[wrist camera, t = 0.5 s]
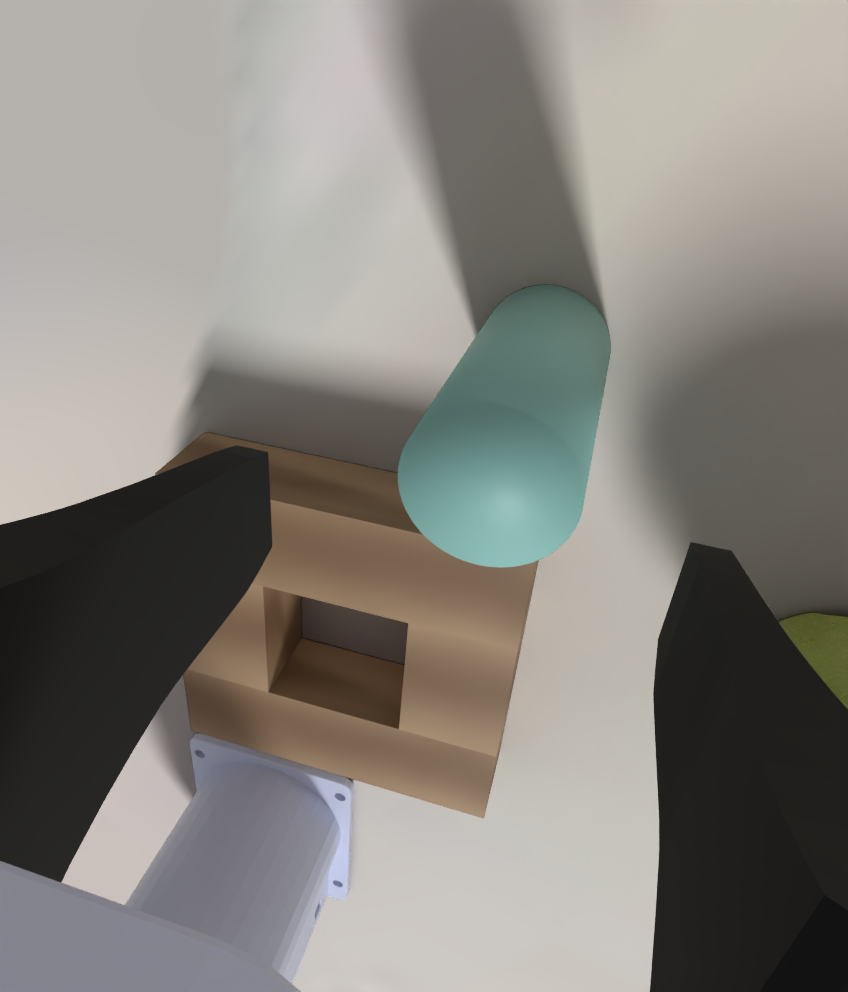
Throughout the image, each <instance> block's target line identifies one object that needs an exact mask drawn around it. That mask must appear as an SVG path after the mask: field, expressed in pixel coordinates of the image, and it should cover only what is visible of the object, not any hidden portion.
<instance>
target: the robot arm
mask: <svg viewBox="0 0 848 992" xmlns="http://www.w3.org/2000/svg"><path fill="white" fill-rule="evenodd" d="M271 548H272V524H271V501H270V479H269V456H268V452H266V451H261V450H257V449H252V448H247V447H243V446H238V445H236V446H233V447H229V448H226V449H223V450H220V451H217V452H214V453H211V454H208V455H206V456H203V457H201V458H198V459H195V460H193V461H190V462H188V463H185V464H183V465H180V466H178V467H175V468H173V469H170V470H168V471H165V472H162V473H160V474H157V475H155V476H152V477H150V478H147V479H145V480H142V481H140V482H137V483H134V484H132V485H129V486H126V487H123V488H121V489H118V490H115V491H112V492H109V493H106V494H103V495H101V496H98V497H95V498H92V499H89V500H86V501H84V502H81V503H78V504H75V505H72V506H68V507H65V508H62V509H58V510H55V511H52V512H48V513H45V514H41V515H37V516H33V517H29V518H26V519H22V520H18V521H14V522H10V523H6V524H2V525H0V992H300V991H299V990H298V989H297V988H296V987H295V986H294V985H292V982H293V980H294V977H295V975H296V972H297V970H298V967H299V965H300V962H301V960H302V957H303V955H304V952H305V950H306V947H307V945H308V942H309V940H310V937H311V935H312V932H313V930H314V927H315V925H316V922H317V920H318V917H319V915H320V912H321V910H322V907H323V905H324V902H325V900H326V897H327V896H328V897H331V898H334V899H337V900H345V899H346V898H347V896H348V893H349V886H350V862H351V838H352V814H353V789H354V787H353V783H352V782H351V781H350V780H349V779H348V778H346V777H344V776H340V775H337V774H334V773H330V772H327V771H324V770H320V769H317V768H314V767H310V766H307V765H304V764H300V763H297V762H294V761H291V760H287V759H284V758H281V757H277V756H274V755H271V754H267V753H264V752H261V751H257V750H254V749H251V748H247V747H244V746H241V745H237V744H234V743H231V742H227V741H224V740H221V739H217V738H214V737H211V736H207V735H204V734H195V735H194V736H193V737H192V739H191V740H190V749H191V756H192V763H193V770H194V777H195V784H196V791H197V792H196V794H195V795H194V797H193V798H192V800H191V801H190V803H189V805H188V806H187V808H186V809H185V811H184V812H183V814H182V816H181V817H180V819H179V820H178V822H177V824H176V825H175V827H174V828H173V830H172V831H171V833H170V835H169V836H168V838H167V839H166V841H165V842H164V844H163V846H162V847H161V849H160V850H159V852H158V854H157V855H156V857H155V858H154V860H153V861H152V863H151V865H150V866H149V868H148V869H147V871H146V872H145V874H144V876H143V877H142V879H141V880H140V882H139V884H138V885H137V887H136V888H135V890H134V891H133V893H132V895H131V896H130V898H129V899H128V901H127V902H126V904H125V905H122V904H119V903H117V902H114V901H111V900H108V899H105V898H103V897H100V896H97V895H94V894H91V893H89V892H86V891H83V890H80V889H77V888H75V887H72V886H69V885H66V884H63V883H61V882H62V880H63V878H64V876H65V873H66V871H67V869H68V867H69V865H70V863H71V861H72V859H73V858H74V856H75V854H76V852H77V850H78V848H79V846H80V845H81V843H82V841H83V839H84V837H85V835H86V833H87V831H88V830H89V828H90V826H91V824H92V822H93V820H94V818H95V817H96V815H97V813H98V811H99V809H100V807H101V805H102V804H103V802H104V800H105V798H106V796H107V795H108V793H109V791H110V789H111V788H112V786H113V784H114V783H115V781H116V779H117V777H118V776H119V774H120V772H121V770H122V769H123V767H124V765H125V763H126V762H127V760H128V758H129V757H130V755H131V753H132V751H133V750H134V748H135V746H136V745H137V743H138V741H139V740H140V738H141V737H142V735H143V733H144V732H145V730H146V729H147V727H148V725H149V724H150V722H151V720H152V719H153V717H154V716H155V714H156V712H157V711H158V709H159V707H160V706H161V704H162V703H163V701H164V700H165V698H166V697H167V696H168V694H169V693H170V691H171V690H172V689H173V687H174V686H175V684H176V683H177V682H178V680H179V679H180V678H181V676H182V675H183V674H184V673H185V671H186V670H187V669H188V668H189V666H190V665H191V664H192V662H193V661H194V660H195V659H196V657H197V656H198V655H199V653H200V652H201V651H202V650H203V648H204V647H205V646H206V644H207V643H208V642H209V641H210V639H211V638H212V637H213V635H214V634H215V633H216V632H217V630H218V629H219V628H220V627H221V625H222V624H223V623H224V621H225V620H226V619H227V617H228V616H229V615H230V613H231V612H232V611H233V610H234V608H235V607H236V606H237V604H238V603H239V602H240V600H241V599H242V598H243V596H244V595H245V594H246V592H247V591H248V589H249V588H250V586H251V584H252V582H253V581H254V579H255V577H256V576H257V574H258V572H259V571H260V569H261V567H262V565H263V563H264V561H265V559H266V557H267V556H268V554H269V552H270V550H271ZM654 719H655V742H656V762H657V782H658V802H659V867H658V884H657V901H656V917H655V931H654V945H653V959H652V973H651V986H650V992H848V709H847V708H846V707H845V706H844V704H843V703H842V702H841V701H840V700H839V699H838V698H837V697H836V695H835V694H834V693H833V692H832V691H831V690H830V688H829V687H828V686H827V685H826V683H825V682H824V681H823V680H822V679H821V677H820V676H819V675H818V674H817V672H816V671H815V670H814V669H813V668H812V666H811V665H810V664H809V663H808V661H807V660H806V659H805V658H804V656H803V655H802V654H801V652H800V651H799V650H798V648H797V647H796V646H795V644H794V643H793V642H792V640H791V639H790V638H789V636H788V635H787V634H786V632H785V631H784V629H783V628H782V627H781V625H780V624H779V622H778V621H777V619H776V618H775V617H774V615H773V614H772V612H771V611H770V609H769V608H768V606H767V605H766V603H765V602H764V600H763V599H762V597H761V596H760V594H759V593H758V591H757V590H756V588H755V586H754V585H753V583H752V582H751V580H750V579H749V577H748V576H747V574H746V573H745V571H744V569H743V568H742V566H741V565H740V563H739V562H738V560H737V559H736V557H735V556H734V554H733V553H732V551H729V550H725V549H720V548H715V547H711V546H706V545H701V544H697V543H692V542H691V543H690V546H689V549H688V552H687V555H686V558H685V561H684V564H683V567H682V570H681V573H680V576H679V579H678V582H677V585H676V588H675V591H674V594H673V597H672V600H671V603H670V606H669V609H668V612H667V615H666V617H665V620H664V623H663V626H662V629H661V632H660V635H659V638H658V647H657V658H656V668H655V681H654Z"/></svg>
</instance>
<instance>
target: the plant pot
mask: <svg viewBox="0 0 848 992" xmlns="http://www.w3.org/2000/svg"><path fill="white" fill-rule="evenodd" d="M778 622H779V624H780V625H781V627H782V628H783V629H784V631H785V632H786V634H787V635H788V636H789V638H790V639H791V640H792V642H793V643H794V644H795V646H796V647H797V648H798V650H799V651H800V652H801V654H802V655H803V656H804V658H805V659H806V660H807V661H808V663H809V664H810V665H811V666H812V668H813V669H814V670H815V671H816V672H817V674H818V675H819V676H820V677H821V679H822V680H823V681H824V682H825V683H826V685H827V686H828V687H829V688H830V690H831V691H832V692H833V693H834V694H835V695H836V697H837V698H838V699H839V700H840V701H841V702H842V703H843V704H844V706H845V707H846V708H847V709H848V617H844V616H833V615H825V614H819V613H806V614H802V615H797V616H793V617H790V618H787V619H784V620H781V621H778Z"/></svg>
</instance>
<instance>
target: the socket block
mask: <svg viewBox="0 0 848 992" xmlns="http://www.w3.org/2000/svg"><path fill="white" fill-rule="evenodd" d="M236 445H238V446H243V447H247V448H252V449H257V450H261V451H266V452H268V456H269V479H270V501H271V524H272V548H271V550H270V552H269V554H268V556H267V557H266V559H265V561H264V563H263V565H262V567H261V569H260V571H259V572H258V574H257V576H256V577H255V579H254V581H253V582H252V584H251V586H250V588H249V589H248V591H247V592H246V594H245V595H244V596H243V598H242V599H241V600H240V602H239V603H238V604H237V606H236V607H235V608H234V610H233V611H232V612H231V613H230V615H229V616H228V617H227V619H226V620H225V621H224V623H223V624H222V625H221V627H220V628H219V629H218V630H217V632H216V633H215V634H214V635H213V637H212V638H211V639H210V641H209V642H208V643H207V644H206V646H205V647H204V648H203V650H202V651H201V652H200V653H199V655H198V656H197V657H196V659H195V660H194V661H193V662H192V664H191V665H190V666H189V668H188V669H187V670H186V671H185V673H184V674H183V676H184V683H185V690H186V697H187V704H188V711H189V719H190V726H191V731H194V732H198V733H201V734H204V735H208V736H211V737H214V738H218V739H221V740H224V741H228V742H231V743H234V744H238V745H241V746H244V747H248V748H251V749H254V750H258V751H261V752H264V753H268V754H271V755H274V756H278V757H281V758H284V759H288V760H291V761H294V762H298V763H301V764H304V765H307V766H311V767H314V768H317V769H321V770H324V771H327V772H331V773H334V774H337V775H341V776H344V777H347V778H351V779H354V780H357V781H361V782H364V783H367V784H371V785H374V786H377V787H381V788H384V789H387V790H391V791H394V792H397V793H401V794H404V795H407V796H411V797H414V798H417V799H420V800H424V801H427V802H430V803H434V804H437V805H440V806H444V807H447V808H450V809H454V810H457V811H460V812H464V813H467V814H470V815H474V816H477V817H480V818H484V815H485V811H486V807H487V803H488V798H489V794H490V790H491V786H492V782H493V777H494V773H495V769H496V765H497V760H498V756H499V752H500V747H501V742H502V737H503V732H504V727H505V722H506V717H507V712H508V707H509V703H510V698H511V693H512V688H513V683H514V678H515V673H516V668H517V663H518V658H519V654H520V649H521V644H522V639H523V634H524V629H525V624H526V619H527V614H528V609H529V604H530V600H531V595H532V590H533V585H534V580H535V575H536V570H537V565H538V560H537V561H535V562H533V563H529V564H525V565H521V566H515V567H501V568H499V567H487V566H481V565H476V564H473V563H469V562H466V561H463V560H461V559H458V558H456V557H454V556H452V555H450V554H448V553H446V552H444V551H443V550H441V549H440V548H438V547H437V546H435V545H434V544H433V543H432V542H431V541H429V540H428V539H427V538H426V537H425V536H424V535H423V534H422V533H421V532H420V531H419V530H418V528H417V527H416V526H415V524H414V523H413V522H412V520H411V518H410V517H409V515H408V513H407V512H406V509H405V507H404V505H403V502H402V499H401V496H400V492H399V486H398V473H394V472H389V471H385V470H380V469H375V468H371V467H366V466H361V465H357V464H352V463H347V462H343V461H338V460H333V459H329V458H324V457H319V456H315V455H310V454H305V453H301V452H296V451H291V450H287V449H282V448H277V447H273V446H268V445H263V444H259V443H254V442H249V441H244V440H240V439H235V438H230V437H226V436H221V435H216V434H212V433H207V432H205V433H203V434H202V435H201V436H200V437H199V438H197V439H196V440H195V441H194V442H192V443H191V444H190V445H189V446H188V447H186V448H185V449H184V450H183V451H182V452H180V453H179V454H178V455H177V456H176V457H174V458H173V459H172V460H171V461H169V462H168V463H167V464H166V465H165V466H163V467H162V468H161V469H160V470H159V471H157V472H156V473H155V475H157V474H160V473H162V472H165V471H168V470H170V469H173V468H175V467H178V466H180V465H183V464H185V463H188V462H190V461H193V460H195V459H198V458H201V457H203V456H206V455H208V454H211V453H214V452H217V451H220V450H223V449H226V448H229V447H233V446H236ZM301 596H303V597H307V598H311V599H315V600H319V601H323V602H326V603H330V604H334V605H338V606H342V607H346V608H350V609H354V610H358V611H362V612H366V613H370V614H374V615H378V616H382V617H386V618H389V619H393V620H397V621H401V622H405V623H408V632H407V644H406V655H405V665H401V664H397V663H394V662H390V661H386V660H382V659H379V658H375V657H371V656H367V655H364V654H360V653H356V652H352V651H349V650H345V649H341V648H337V647H333V646H330V645H326V644H322V643H318V642H315V641H311V640H307V639H303V638H302V606H301Z"/></svg>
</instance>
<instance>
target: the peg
mask: <svg viewBox="0 0 848 992" xmlns="http://www.w3.org/2000/svg"><path fill="white" fill-rule="evenodd" d="M610 353H611V343H610V335H609V332H608V328H607V325H606V323H605V321H604V319H603V317H602V315H601V314H600V312H599V311H598V310H597V309H596V307H595V306H594V305H593V304H592V303H591V302H590V301H589V300H588V299H586V298H585V297H583V296H582V295H581V294H579V293H577V292H575V291H573V290H570V289H568V288H565V287H561V286H556V285H535V286H530V287H526V288H523V289H521V290H518V291H516V292H514V293H512V294H511V295H509V296H508V297H506V298H505V299H504V300H503V301H502V302H500V303H499V304H498V306H497V307H496V308H495V309H494V310H493V312H492V313H491V315H490V316H489V318H488V319H487V321H486V322H485V324H484V325H483V327H482V328H481V330H480V331H479V333H478V334H477V336H476V337H475V339H474V340H473V342H472V343H471V345H470V346H469V348H468V349H467V351H466V352H465V354H464V356H463V357H462V359H461V360H460V362H459V363H458V365H457V366H456V368H455V369H454V371H453V372H452V374H451V375H450V377H449V378H448V380H447V381H446V383H445V384H444V386H443V387H442V389H441V390H440V392H439V393H438V395H437V396H436V398H435V399H434V401H433V402H432V404H431V405H430V407H429V408H428V410H427V411H426V413H425V414H424V416H423V417H422V419H421V420H420V422H419V423H418V425H417V426H416V428H415V430H414V431H413V433H412V434H411V436H410V437H409V439H408V440H407V442H406V444H405V446H404V448H403V450H402V453H401V456H400V460H399V466H398V486H399V492H400V496H401V499H402V502H403V505H404V507H405V509H406V512H407V513H408V515H409V517H410V518H411V520H412V522H413V523H414V524H415V526H416V527H417V528H418V530H419V531H420V532H421V533H422V534H423V535H424V536H425V537H426V538H427V539H428V540H429V541H431V542H432V543H433V544H434V545H435V546H437V547H438V548H440V549H441V550H443V551H444V552H446V553H448V554H450V555H452V556H454V557H456V558H458V559H461V560H463V561H466V562H469V563H473V564H476V565H481V566H487V567H499V568H501V567H515V566H521V565H525V564H529V563H533V562H535V561H537V560H540V559H542V558H544V557H546V556H548V555H549V554H551V553H553V552H554V551H555V550H557V549H558V548H559V547H560V546H561V545H562V544H563V543H564V542H565V541H566V540H567V539H568V538H569V537H570V535H571V534H572V532H573V531H574V529H575V527H576V525H577V523H578V521H579V519H580V516H581V513H582V509H583V503H584V498H585V492H586V487H587V481H588V476H589V470H590V464H591V459H592V453H593V448H594V442H595V437H596V431H597V426H598V420H599V415H600V409H601V404H602V398H603V392H604V387H605V381H606V376H607V370H608V365H609V359H610Z"/></svg>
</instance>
